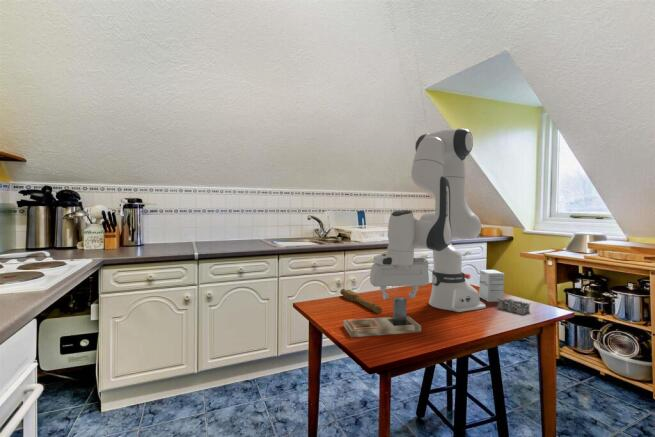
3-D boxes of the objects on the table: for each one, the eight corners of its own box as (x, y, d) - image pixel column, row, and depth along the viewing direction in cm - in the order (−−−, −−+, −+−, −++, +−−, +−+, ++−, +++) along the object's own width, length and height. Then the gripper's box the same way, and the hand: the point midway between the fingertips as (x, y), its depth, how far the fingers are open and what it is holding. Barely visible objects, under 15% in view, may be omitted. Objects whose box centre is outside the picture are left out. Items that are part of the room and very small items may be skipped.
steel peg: (402, 324, 119) (403, 296, 118) (408, 329, 115) (408, 300, 114) (391, 325, 118) (391, 297, 118) (395, 330, 114) (396, 301, 113)
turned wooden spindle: (376, 307, 130) (339, 288, 157) (376, 314, 130) (339, 294, 157) (382, 305, 132) (344, 287, 158) (382, 313, 132) (344, 294, 159)
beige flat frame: (408, 321, 122) (408, 315, 122) (421, 331, 113) (421, 325, 112) (343, 325, 118) (343, 319, 118) (351, 337, 108) (351, 330, 108)
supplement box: (478, 297, 154) (479, 269, 153) (494, 296, 154) (495, 269, 154) (487, 302, 146) (488, 273, 146) (503, 301, 147) (504, 272, 146)
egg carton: (495, 308, 139) (495, 298, 139) (506, 305, 143) (506, 295, 143) (521, 315, 130) (522, 305, 130) (532, 312, 134) (532, 302, 134)
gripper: (424, 256, 120) (422, 295, 121) (368, 257, 116) (367, 296, 117) (433, 259, 114) (431, 300, 114) (375, 259, 110) (373, 302, 110)
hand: (399, 298), depth 115 cm, fingers open, 8 cm apart
